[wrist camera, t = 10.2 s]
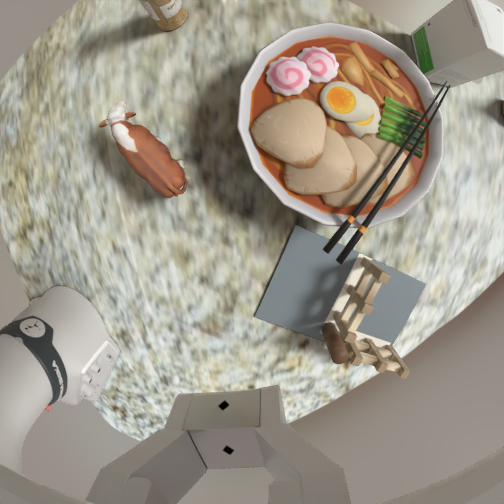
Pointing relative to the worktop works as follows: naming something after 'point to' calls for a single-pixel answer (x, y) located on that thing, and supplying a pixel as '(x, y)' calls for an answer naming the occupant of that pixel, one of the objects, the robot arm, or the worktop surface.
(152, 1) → the spice jar
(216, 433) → the robot arm
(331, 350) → the corner post
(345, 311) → the gate panel
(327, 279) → the card
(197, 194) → the worktop surface
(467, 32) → the skincare box
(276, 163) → the ramen bowl
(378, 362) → the fixed fence panel
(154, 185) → the bull figurine
